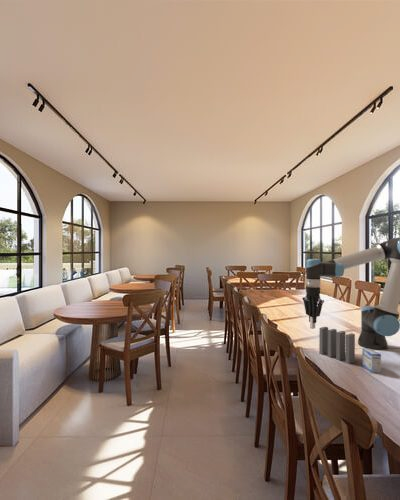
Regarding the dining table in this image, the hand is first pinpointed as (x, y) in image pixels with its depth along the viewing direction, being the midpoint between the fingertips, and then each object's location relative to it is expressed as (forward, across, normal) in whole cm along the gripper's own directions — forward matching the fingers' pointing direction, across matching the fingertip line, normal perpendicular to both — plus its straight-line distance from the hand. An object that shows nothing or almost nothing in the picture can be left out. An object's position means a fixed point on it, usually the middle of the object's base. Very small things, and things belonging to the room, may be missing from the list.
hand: (312, 328), depth 169 cm
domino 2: (+12, +12, 0) cm, 17 cm away
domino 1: (+12, +7, 0) cm, 14 cm away
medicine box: (+12, +33, 0) cm, 35 cm away
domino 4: (+12, +22, 0) cm, 25 cm away
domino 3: (+12, +17, 0) cm, 21 cm away
